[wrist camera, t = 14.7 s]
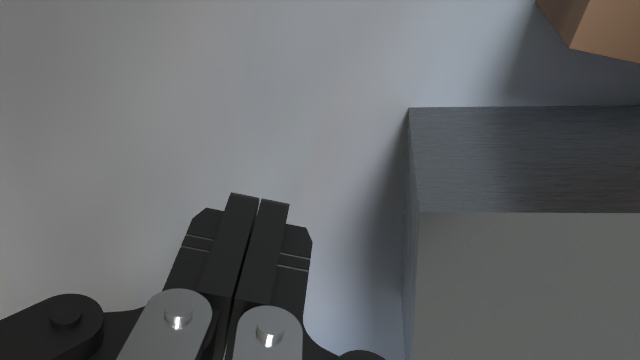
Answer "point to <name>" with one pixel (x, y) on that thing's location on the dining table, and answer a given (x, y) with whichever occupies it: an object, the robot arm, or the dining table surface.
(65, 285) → the dining table surface
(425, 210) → the grey squat square block
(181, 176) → the dining table surface
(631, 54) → the shelf rail
